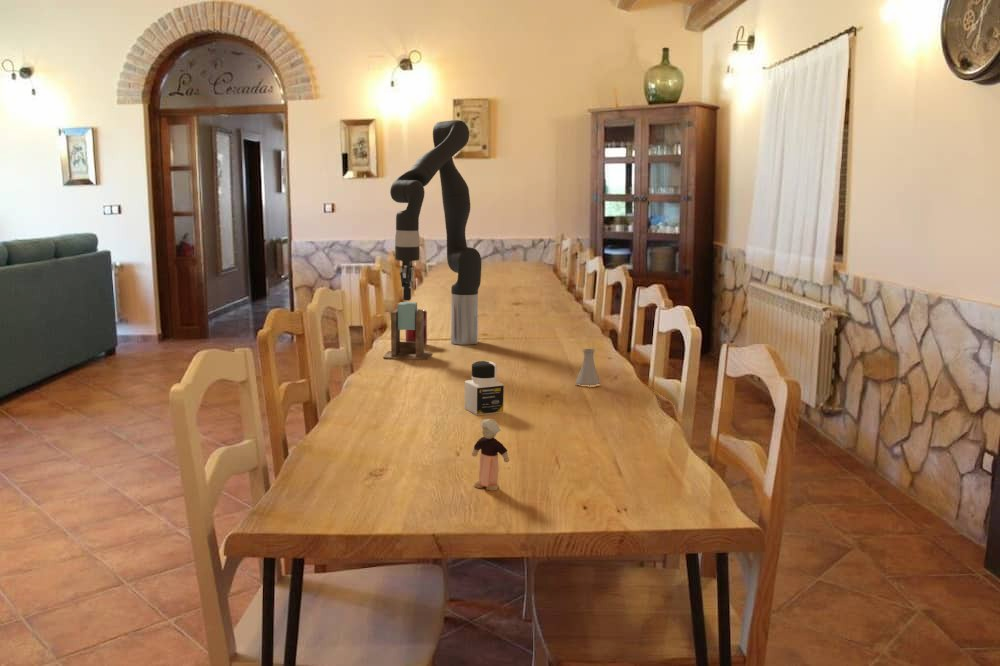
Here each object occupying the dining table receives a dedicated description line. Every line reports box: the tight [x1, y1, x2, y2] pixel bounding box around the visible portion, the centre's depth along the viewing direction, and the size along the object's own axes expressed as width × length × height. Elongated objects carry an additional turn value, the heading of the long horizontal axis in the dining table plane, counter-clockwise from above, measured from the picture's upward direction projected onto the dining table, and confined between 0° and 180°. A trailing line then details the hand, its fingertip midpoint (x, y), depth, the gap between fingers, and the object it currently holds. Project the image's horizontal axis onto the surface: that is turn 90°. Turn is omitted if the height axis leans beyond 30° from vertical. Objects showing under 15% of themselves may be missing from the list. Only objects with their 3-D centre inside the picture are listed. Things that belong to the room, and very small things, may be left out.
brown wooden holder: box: [382, 308, 432, 361], centre depth 267 cm, size 14×10×15 cm
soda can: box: [405, 308, 428, 347], centre depth 287 cm, size 7×7×12 cm
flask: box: [575, 348, 601, 386], centre depth 231 cm, size 7×7×10 cm
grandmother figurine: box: [471, 418, 510, 492], centre depth 150 cm, size 8×4×13 cm, turn 69°
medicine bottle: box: [464, 360, 505, 417], centre depth 202 cm, size 7×7×12 cm
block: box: [397, 301, 418, 331], centre depth 266 cm, size 5×5×8 cm
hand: (407, 300), depth 265 cm, fingers closed
